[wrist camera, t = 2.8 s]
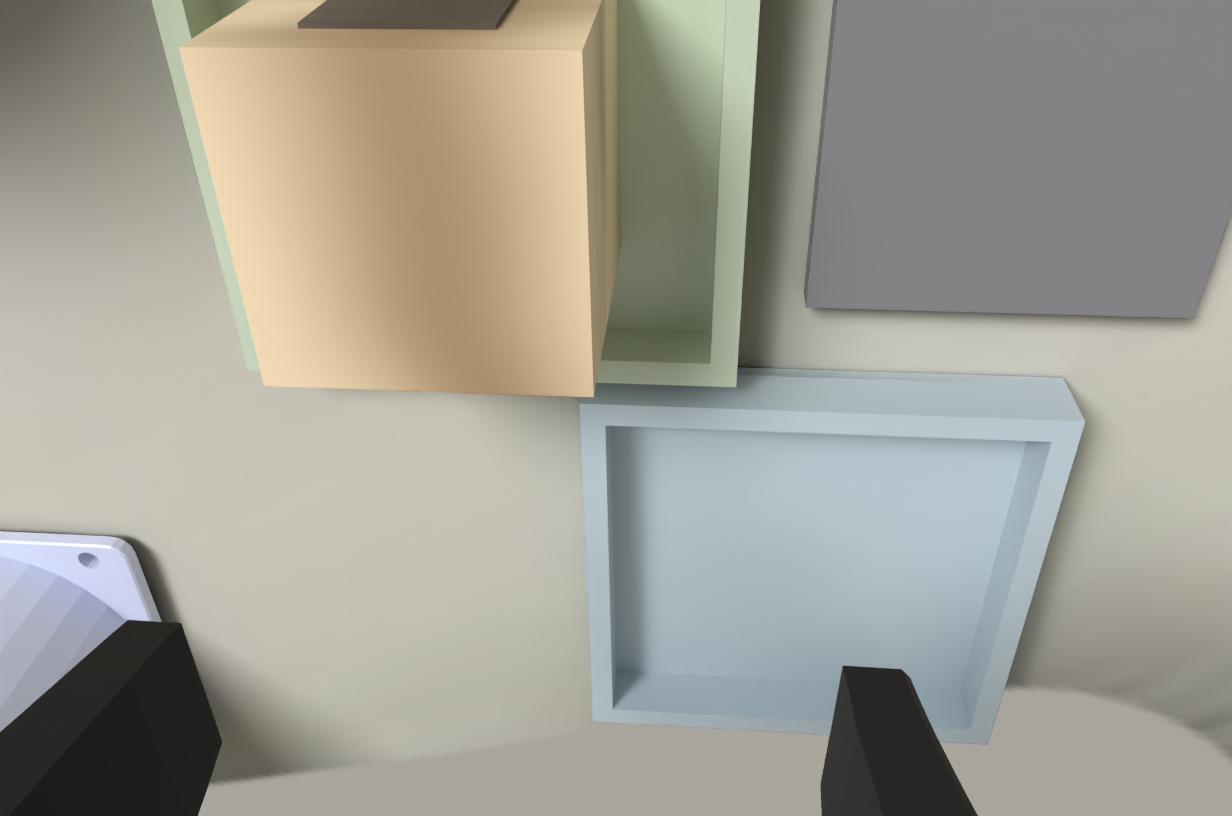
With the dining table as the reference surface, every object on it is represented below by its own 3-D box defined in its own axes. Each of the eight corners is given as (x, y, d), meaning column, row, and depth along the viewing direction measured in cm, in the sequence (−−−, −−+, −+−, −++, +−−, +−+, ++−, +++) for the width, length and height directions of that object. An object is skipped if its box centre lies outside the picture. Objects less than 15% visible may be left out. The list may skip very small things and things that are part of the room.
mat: (803, 292, 20) (806, 307, 19) (852, -187, 15) (856, -182, 15) (1181, 302, 19) (1194, 318, 19) (1349, -191, 15) (1371, -188, 14)
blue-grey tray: (598, 673, 26) (592, 721, 25) (587, 362, 21) (578, 403, 20) (974, 694, 26) (987, 744, 24) (1062, 377, 20) (1085, 421, 19)
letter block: (360, 241, 20) (264, 386, 15) (310, -44, 17) (177, 41, 13) (620, 247, 19) (593, 397, 15) (616, -43, 16) (582, 44, 12)
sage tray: (275, 331, 21) (248, 370, 20) (149, -199, 16) (101, -190, 15) (735, 346, 20) (735, 387, 19) (768, -205, 15) (773, -198, 14)
